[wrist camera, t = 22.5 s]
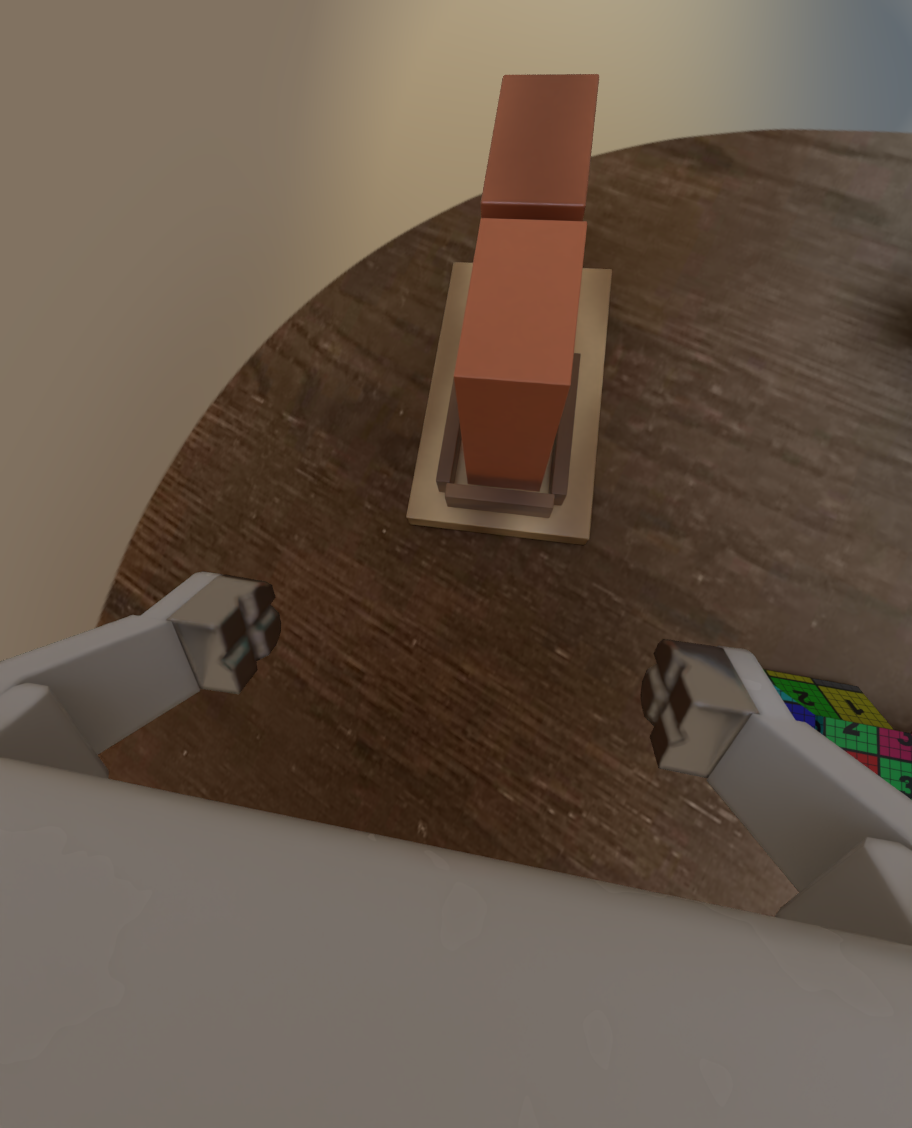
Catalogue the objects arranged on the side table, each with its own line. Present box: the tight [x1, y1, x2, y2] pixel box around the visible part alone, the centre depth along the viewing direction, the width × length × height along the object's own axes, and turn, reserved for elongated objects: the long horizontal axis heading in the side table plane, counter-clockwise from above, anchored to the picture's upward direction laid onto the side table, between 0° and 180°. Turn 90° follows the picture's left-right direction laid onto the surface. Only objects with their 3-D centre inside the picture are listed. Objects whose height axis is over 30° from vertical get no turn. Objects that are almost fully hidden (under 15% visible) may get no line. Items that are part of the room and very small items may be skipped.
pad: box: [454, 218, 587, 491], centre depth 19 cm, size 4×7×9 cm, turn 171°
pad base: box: [406, 74, 612, 545], centre depth 20 cm, size 10×18×10 cm, turn 171°
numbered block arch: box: [763, 669, 912, 800], centre depth 17 cm, size 8×5×4 cm
